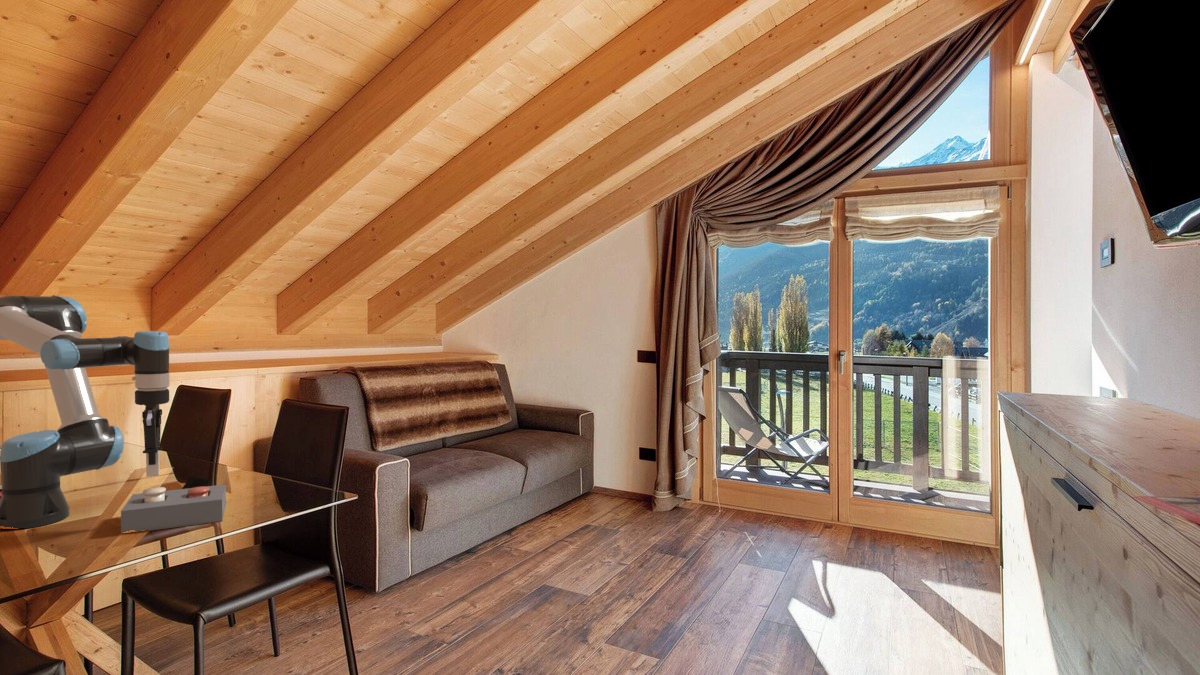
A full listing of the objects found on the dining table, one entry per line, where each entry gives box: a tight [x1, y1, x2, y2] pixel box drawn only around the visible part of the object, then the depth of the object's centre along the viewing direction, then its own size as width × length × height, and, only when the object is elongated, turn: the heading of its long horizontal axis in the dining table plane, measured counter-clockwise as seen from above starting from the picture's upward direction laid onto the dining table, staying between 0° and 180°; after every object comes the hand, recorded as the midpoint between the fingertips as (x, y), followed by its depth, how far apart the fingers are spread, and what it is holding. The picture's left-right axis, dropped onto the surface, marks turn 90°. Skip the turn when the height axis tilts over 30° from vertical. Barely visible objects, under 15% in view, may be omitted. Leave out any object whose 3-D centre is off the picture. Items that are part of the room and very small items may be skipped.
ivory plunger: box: [142, 486, 167, 503], centre depth 167 cm, size 5×5×7 cm
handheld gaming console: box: [181, 475, 212, 489], centre depth 187 cm, size 12×7×10 cm
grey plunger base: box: [120, 484, 227, 533], centre depth 170 cm, size 16×22×6 cm
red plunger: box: [188, 486, 209, 498], centre depth 172 cm, size 5×5×7 cm
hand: (153, 475), depth 167 cm, fingers closed
